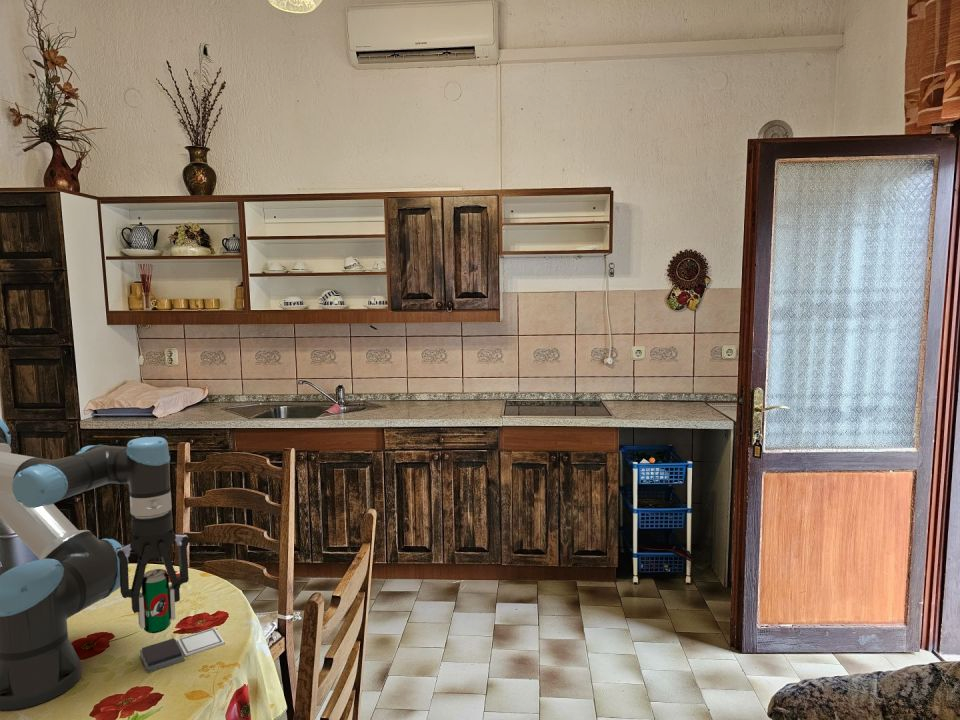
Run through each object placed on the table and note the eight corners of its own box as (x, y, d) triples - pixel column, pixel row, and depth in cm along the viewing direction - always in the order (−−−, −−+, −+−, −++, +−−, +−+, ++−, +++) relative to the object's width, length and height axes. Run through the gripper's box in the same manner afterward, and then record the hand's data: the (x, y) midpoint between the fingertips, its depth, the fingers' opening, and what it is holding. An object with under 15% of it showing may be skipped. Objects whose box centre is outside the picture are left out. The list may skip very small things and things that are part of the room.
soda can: (175, 622, 134) (173, 568, 133) (161, 635, 129) (158, 579, 128) (153, 621, 134) (150, 567, 133) (138, 634, 129) (135, 577, 128)
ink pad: (147, 673, 127) (146, 664, 127) (140, 655, 133) (139, 647, 133) (184, 660, 131) (183, 652, 131) (176, 644, 137) (175, 636, 137)
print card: (185, 656, 132) (185, 654, 132) (177, 641, 139) (176, 638, 139) (224, 643, 137) (224, 641, 137) (215, 629, 144) (214, 627, 144)
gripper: (103, 527, 121) (109, 643, 123) (202, 509, 132) (207, 615, 134) (98, 517, 127) (104, 627, 129) (194, 500, 138) (198, 602, 140)
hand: (157, 621), depth 131 cm, fingers closed on soda can, 5 cm apart
